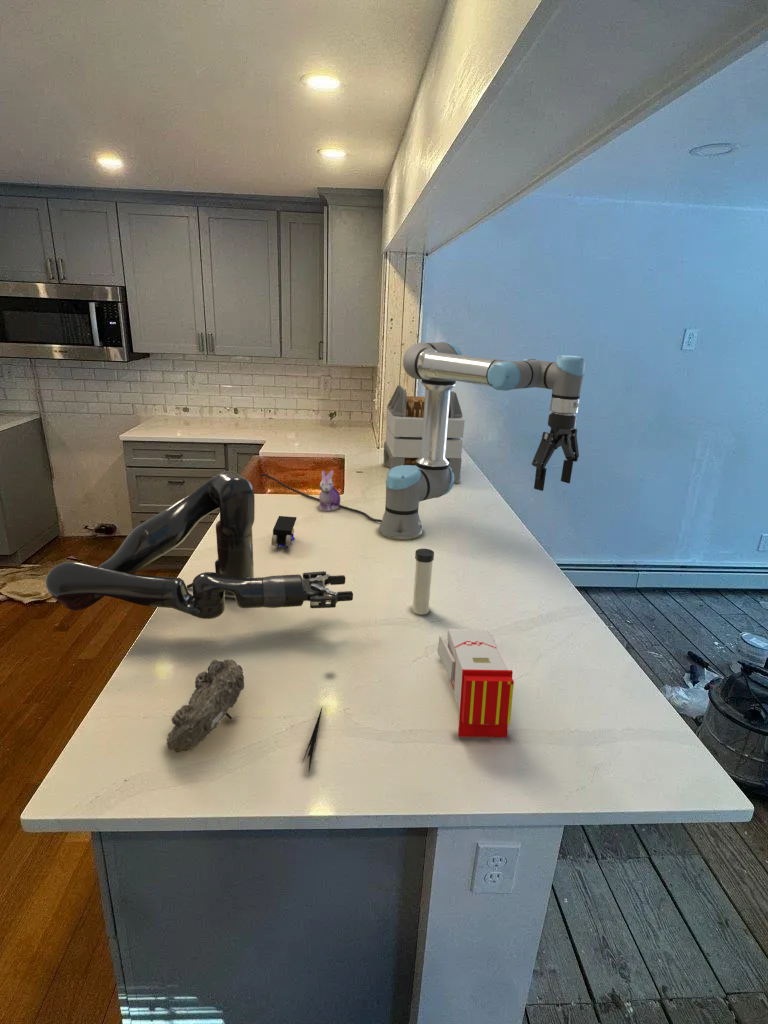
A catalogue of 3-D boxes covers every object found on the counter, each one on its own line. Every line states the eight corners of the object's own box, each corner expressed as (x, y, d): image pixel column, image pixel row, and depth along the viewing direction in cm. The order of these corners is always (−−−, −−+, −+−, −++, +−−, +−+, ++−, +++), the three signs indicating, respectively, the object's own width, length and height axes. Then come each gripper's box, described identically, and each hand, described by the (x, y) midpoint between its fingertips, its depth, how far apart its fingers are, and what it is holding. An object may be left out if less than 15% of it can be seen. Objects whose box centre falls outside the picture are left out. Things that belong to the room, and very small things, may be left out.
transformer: (382, 463, 289) (386, 382, 275) (445, 464, 293) (451, 384, 279) (390, 482, 257) (394, 392, 243) (460, 483, 261) (468, 394, 247)
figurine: (322, 513, 216) (323, 475, 211) (313, 504, 224) (313, 468, 219) (345, 510, 220) (346, 473, 215) (335, 502, 229) (335, 466, 223)
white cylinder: (430, 614, 148) (435, 556, 143) (414, 615, 147) (418, 557, 142) (426, 606, 152) (430, 550, 147) (410, 607, 151) (414, 550, 146)
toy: (488, 613, 130) (523, 677, 101) (484, 667, 133) (517, 744, 104) (435, 612, 130) (455, 676, 101) (432, 666, 133) (451, 743, 103)
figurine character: (291, 556, 181) (297, 534, 194) (291, 536, 177) (297, 514, 191) (270, 556, 181) (278, 533, 194) (269, 535, 177) (277, 513, 191)
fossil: (192, 660, 117) (244, 628, 112) (224, 691, 120) (276, 661, 115) (142, 746, 98) (202, 712, 93) (182, 779, 101) (242, 748, 96)
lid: (436, 561, 143) (436, 555, 142) (417, 562, 142) (418, 556, 141) (430, 554, 147) (431, 548, 147) (412, 555, 146) (413, 548, 146)
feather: (331, 679, 122) (336, 673, 122) (307, 777, 96) (313, 769, 95) (324, 675, 122) (329, 669, 121) (298, 772, 95) (304, 764, 95)
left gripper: (278, 591, 142) (342, 587, 146) (284, 620, 129) (354, 615, 133) (279, 564, 139) (343, 561, 144) (285, 591, 126) (356, 587, 131)
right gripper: (548, 419, 148) (537, 496, 155) (598, 411, 163) (586, 482, 171) (525, 414, 153) (515, 489, 160) (575, 407, 169) (564, 476, 176)
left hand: (348, 587), depth 138 cm, fingers open, 8 cm apart
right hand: (552, 485), depth 166 cm, fingers open, 13 cm apart
